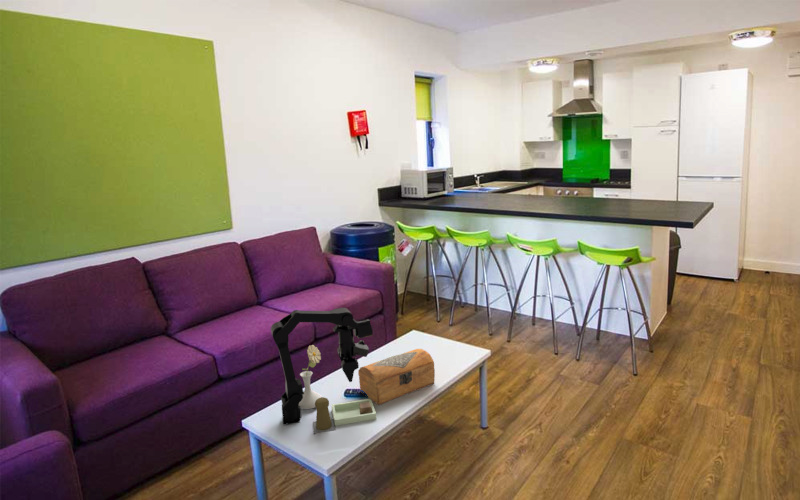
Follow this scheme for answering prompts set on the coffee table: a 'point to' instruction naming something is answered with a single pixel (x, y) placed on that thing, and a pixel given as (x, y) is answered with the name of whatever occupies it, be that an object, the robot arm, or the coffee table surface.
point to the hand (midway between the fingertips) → (349, 376)
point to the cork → (322, 414)
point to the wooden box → (397, 375)
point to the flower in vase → (309, 395)
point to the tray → (351, 412)
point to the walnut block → (365, 408)
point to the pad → (324, 430)
